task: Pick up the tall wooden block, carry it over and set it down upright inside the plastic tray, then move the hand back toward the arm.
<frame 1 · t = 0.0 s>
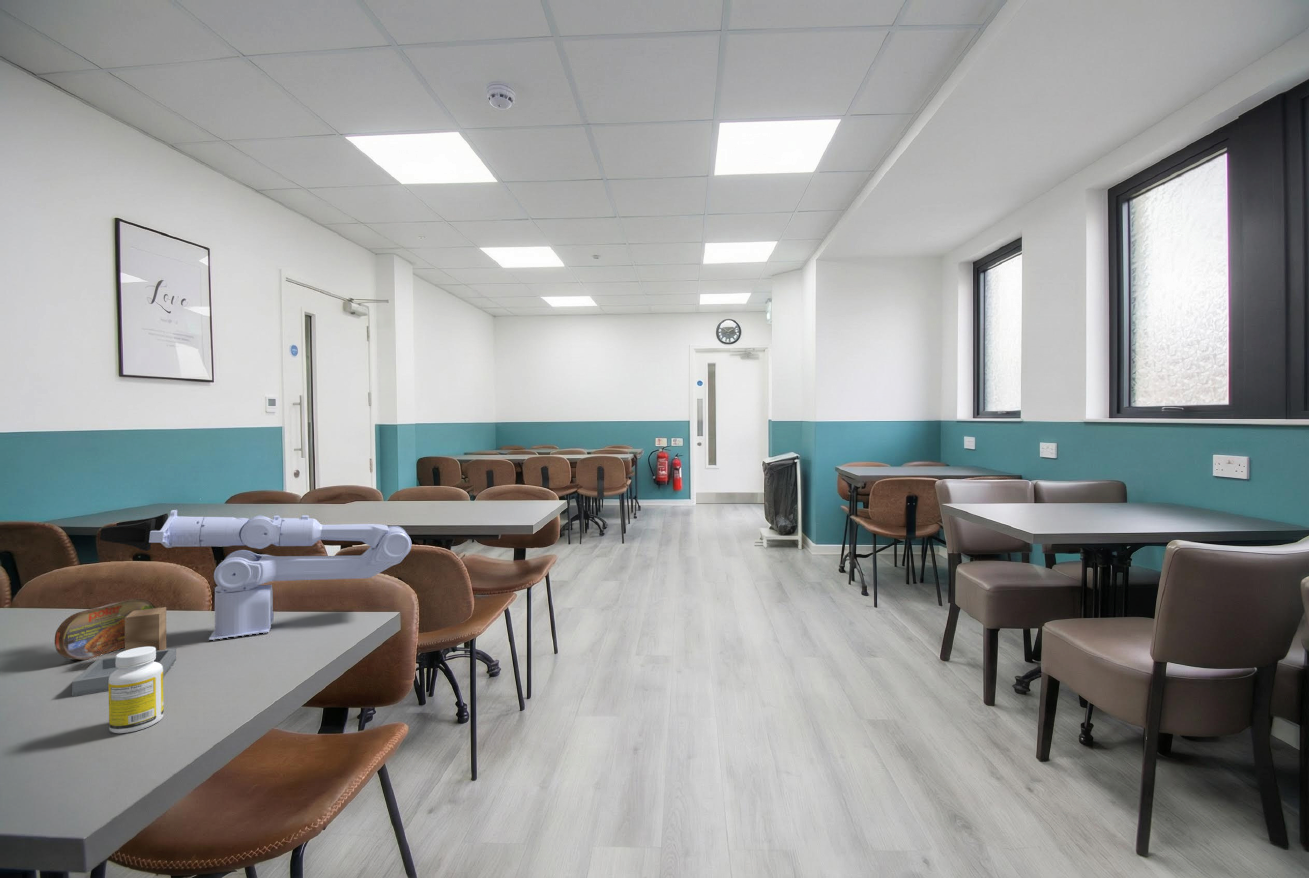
hand: (109, 531, 102), 22 cm above the table, tool horizontal, fingers open, 7 cm apart
block: (146, 657, 98), on the table
tin: (108, 651, 102), on the table
tray: (128, 677, 90), on the table
supplement bottle: (136, 725, 75), on the table
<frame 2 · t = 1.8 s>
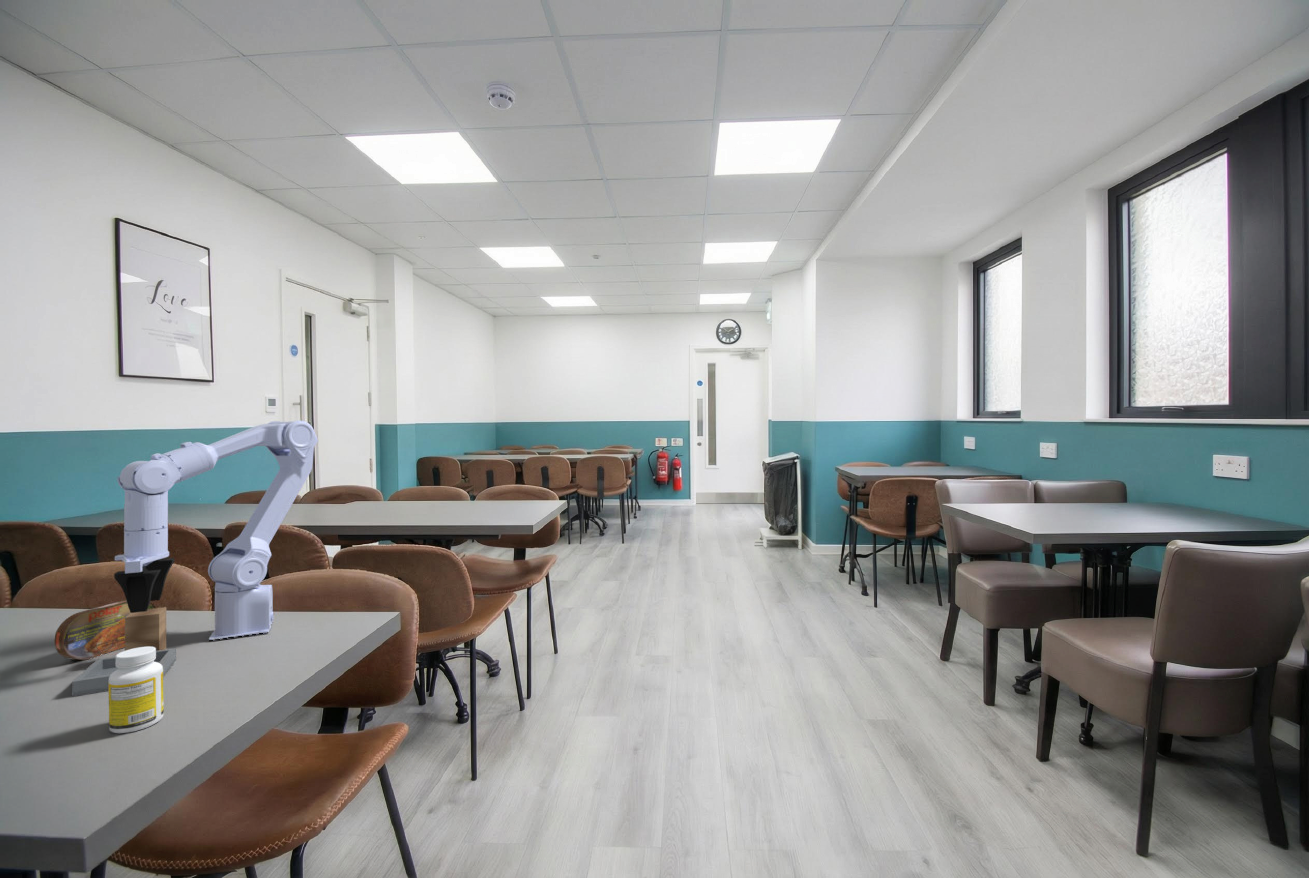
hand: (145, 605, 98), 9 cm above the table, tool pointing down, fingers open, 7 cm apart
nothing on the table moved.
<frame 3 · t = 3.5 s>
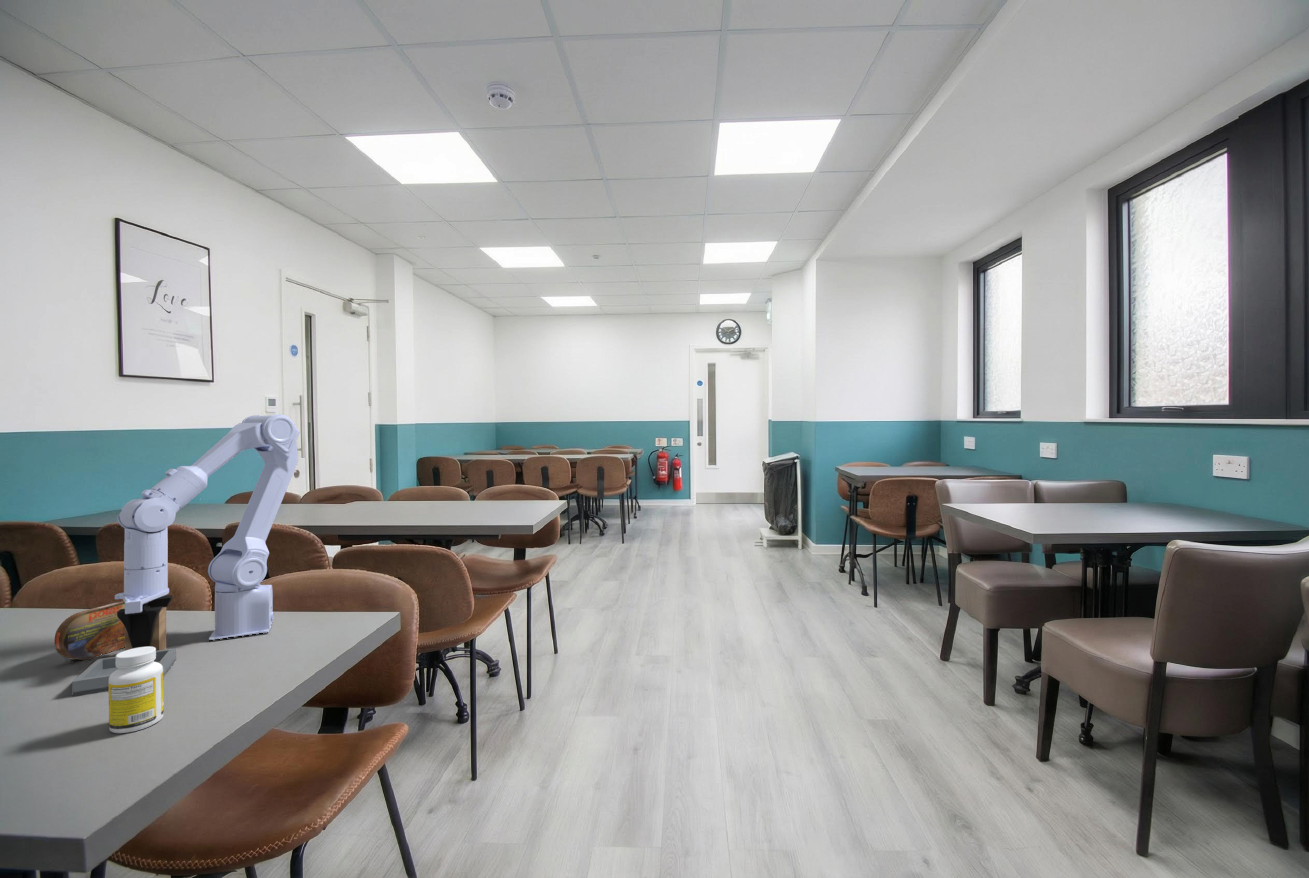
hand: (146, 643, 98), 2 cm above the table, tool pointing down, fingers closed on block, 4 cm apart
block: (146, 657, 98), on the table, touching gripper
everything else where it was.
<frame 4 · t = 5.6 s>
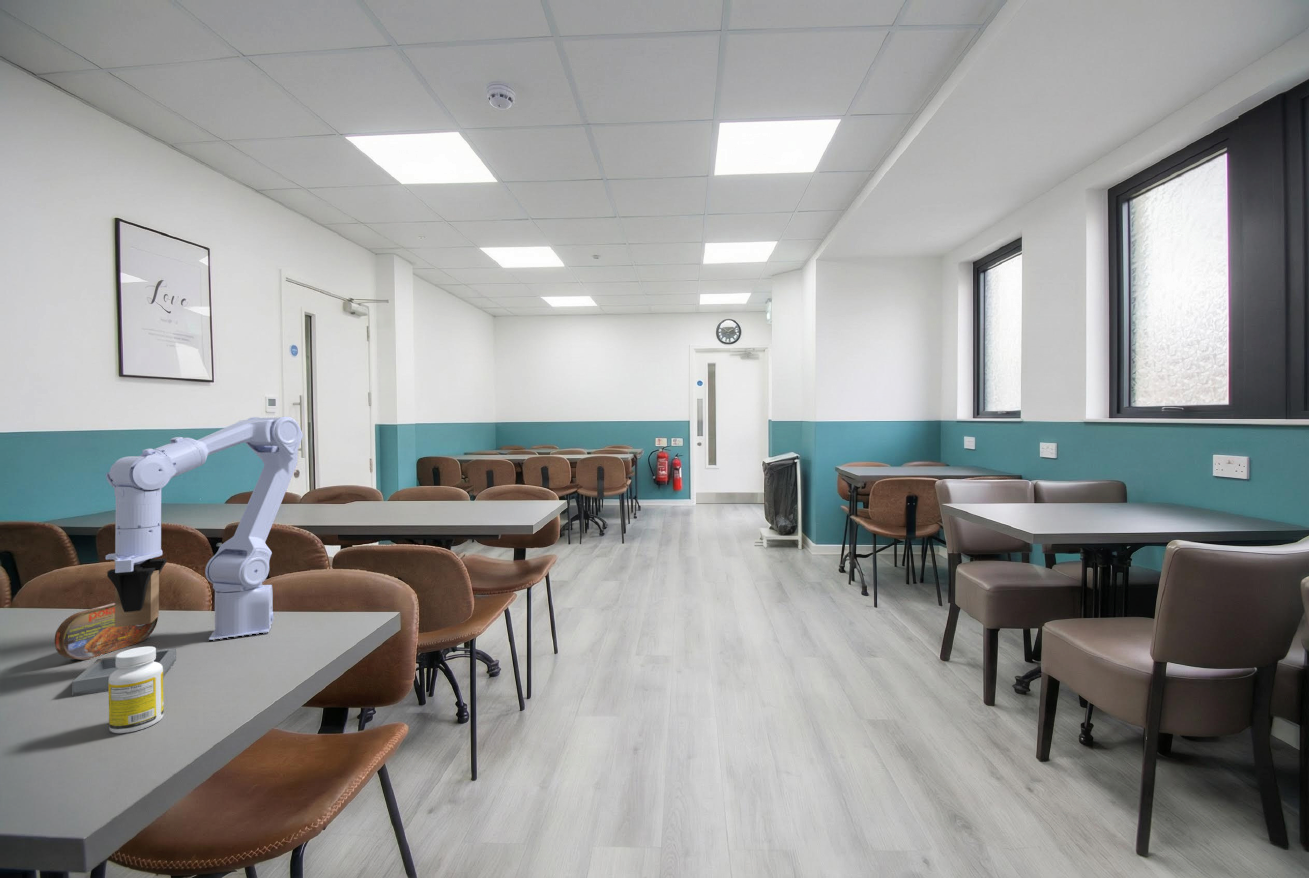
hand: (138, 606, 95), 10 cm above the table, tool pointing down, fingers closed on block, 4 cm apart
block: (137, 621, 95), point 7 cm above the table, touching gripper
everything else where it was.
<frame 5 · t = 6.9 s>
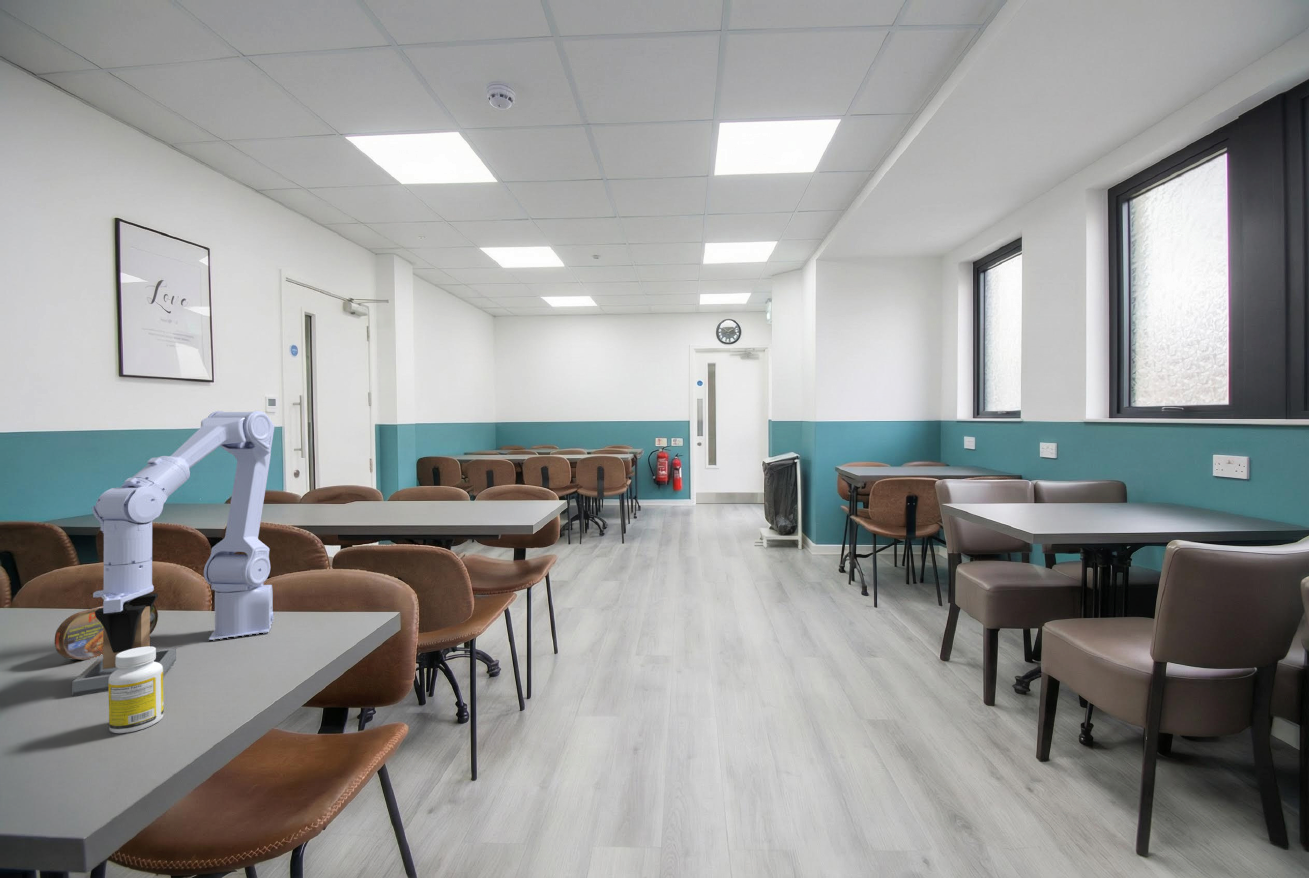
hand: (128, 645, 90), 5 cm above the table, tool pointing down, fingers closed on block, 4 cm apart
block: (127, 661, 90), point 3 cm above the table, touching gripper
everything else where it was.
when the fingers open (4 cm above the table, at t = 8.0 s): block stays where it is, resting on tray.
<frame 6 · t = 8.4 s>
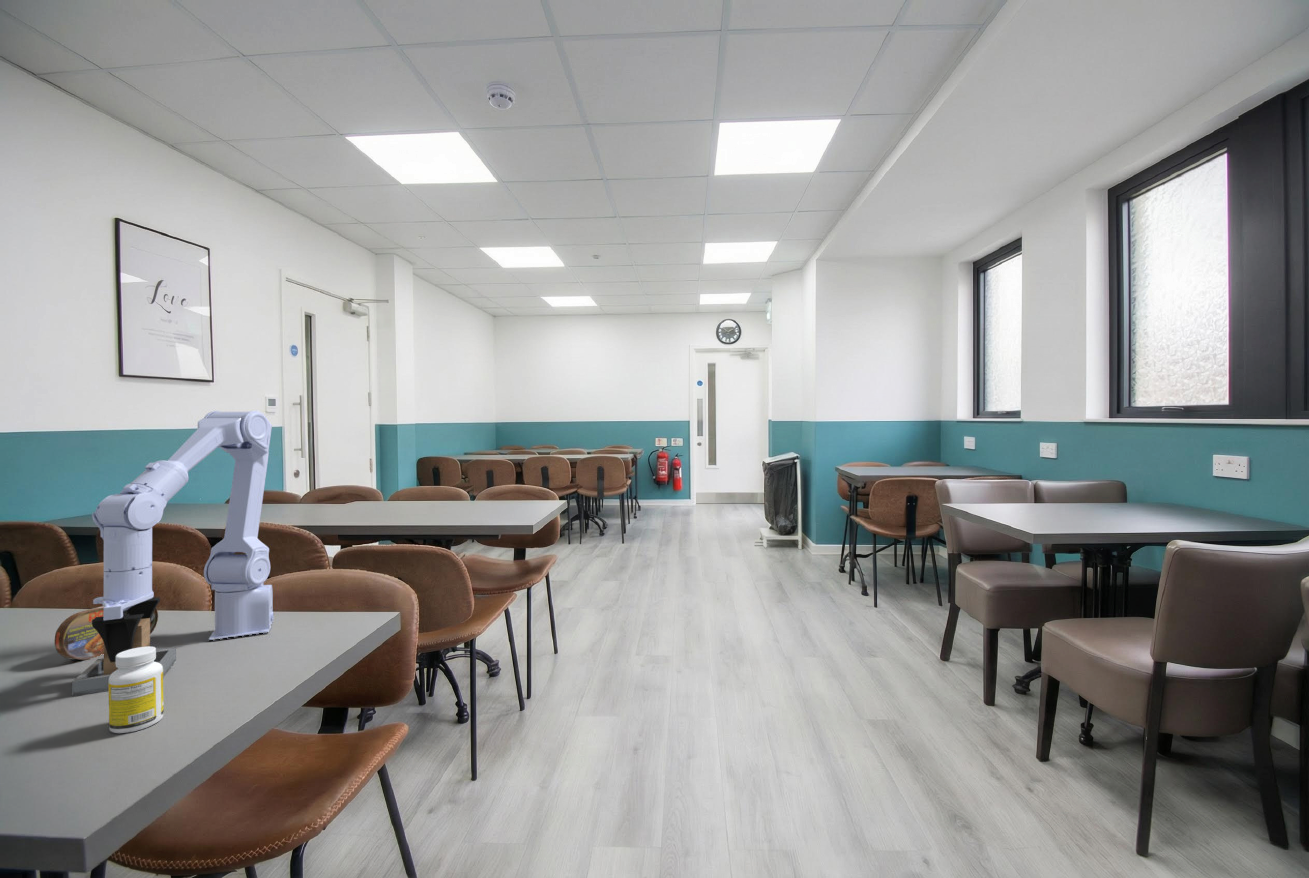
hand: (128, 652, 90), 4 cm above the table, tool pointing down, fingers open, 7 cm apart
block: (127, 673, 90), point 1 cm above the table, touching tray
everything else where it was.
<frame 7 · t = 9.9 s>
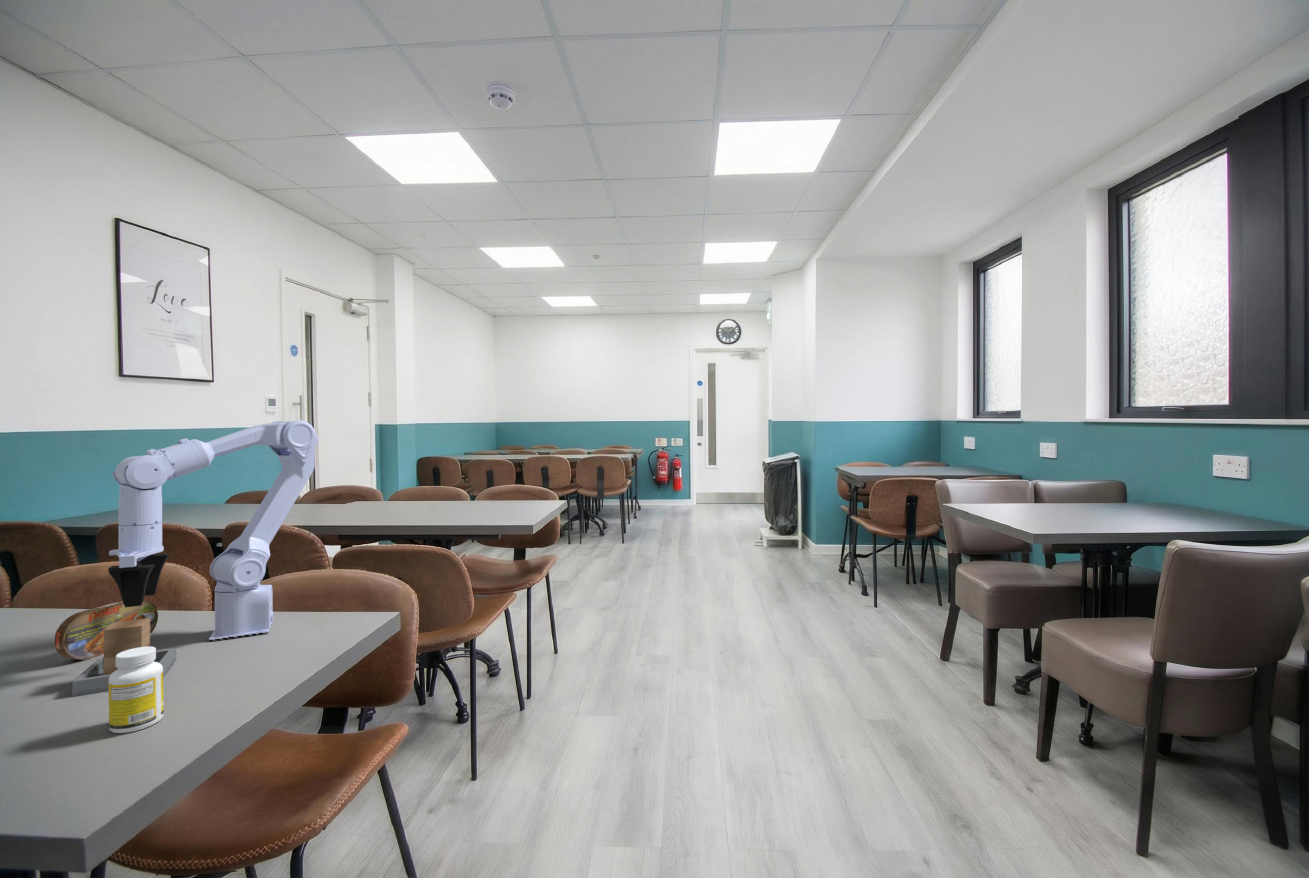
hand: (140, 600, 99), 10 cm above the table, tool pointing down, fingers open, 7 cm apart
nothing on the table moved.
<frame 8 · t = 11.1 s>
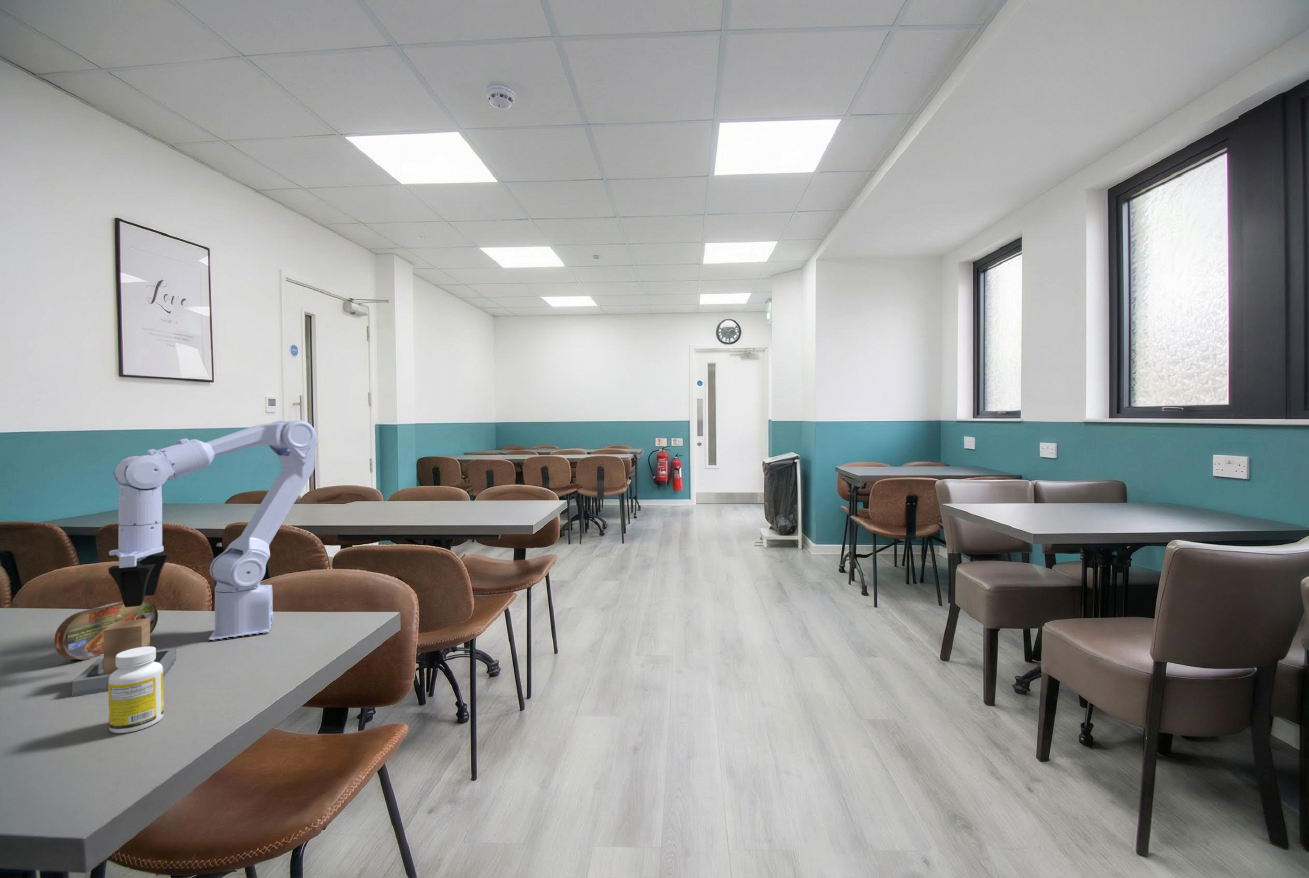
hand: (140, 600, 99), 10 cm above the table, tool pointing down, fingers open, 7 cm apart
nothing on the table moved.
at the end: block 0.1 cm off-centre on the tray, point 0.6 cm above the tray's base; block tilted 0°; the gripper is holding nothing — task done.
